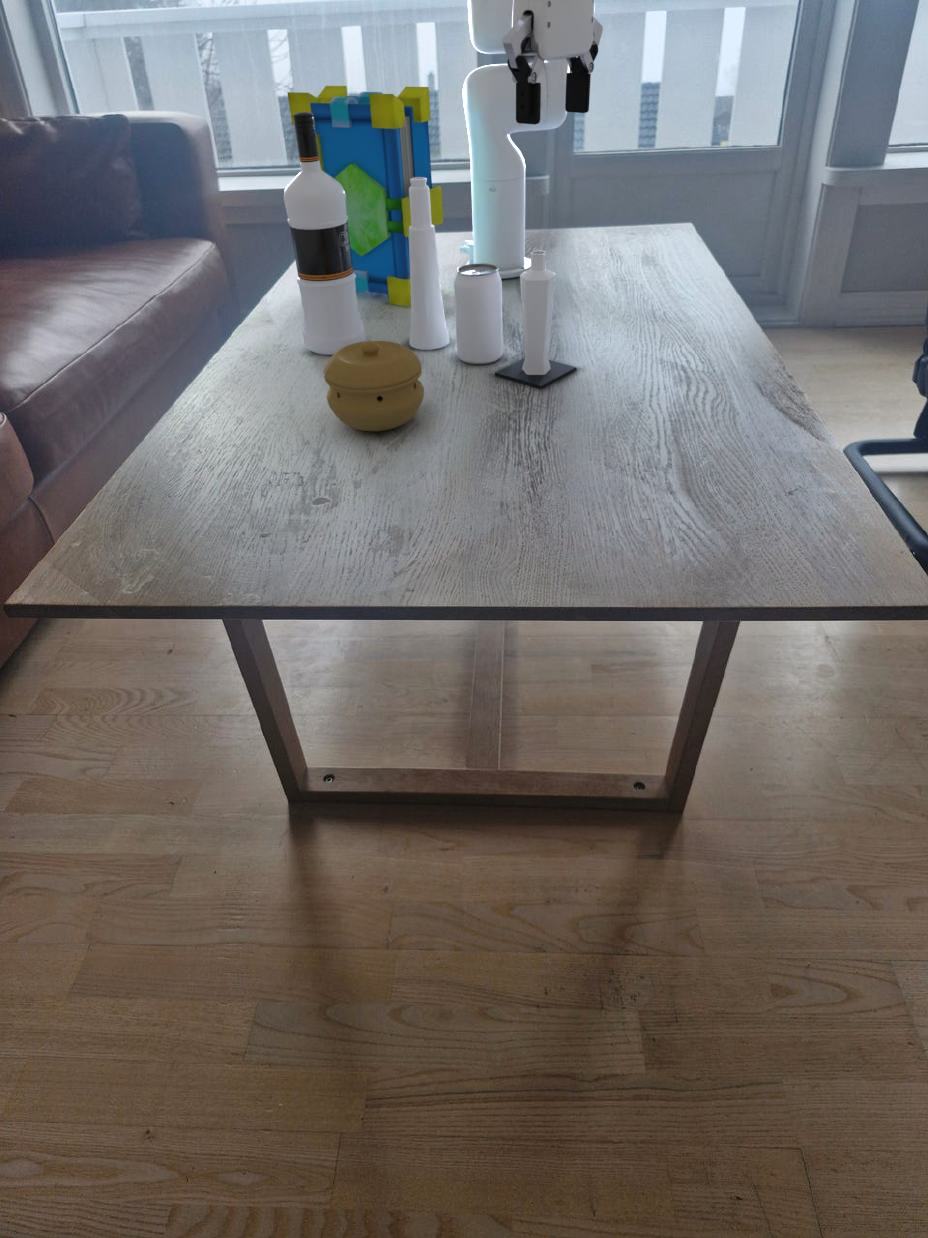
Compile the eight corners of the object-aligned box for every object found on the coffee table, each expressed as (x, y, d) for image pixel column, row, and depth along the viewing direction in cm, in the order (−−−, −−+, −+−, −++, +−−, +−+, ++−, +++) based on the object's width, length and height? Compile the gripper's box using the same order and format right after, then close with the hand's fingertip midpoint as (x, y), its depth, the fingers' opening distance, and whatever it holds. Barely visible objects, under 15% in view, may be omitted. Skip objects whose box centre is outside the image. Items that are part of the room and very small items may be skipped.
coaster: (494, 375, 108) (494, 372, 108) (530, 357, 113) (530, 354, 113) (541, 388, 104) (541, 385, 104) (576, 369, 109) (576, 367, 108)
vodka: (300, 340, 122) (260, 111, 104) (358, 331, 125) (330, 105, 106) (312, 360, 115) (272, 118, 97) (373, 350, 118) (346, 112, 99)
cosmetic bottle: (402, 348, 118) (387, 181, 104) (419, 334, 122) (407, 173, 109) (439, 351, 116) (429, 183, 102) (455, 338, 120) (448, 174, 107)
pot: (354, 399, 104) (344, 321, 98) (439, 407, 101) (434, 327, 95) (314, 437, 95) (300, 355, 89) (406, 447, 92) (398, 363, 86)
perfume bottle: (553, 363, 110) (556, 247, 100) (553, 375, 106) (556, 256, 97) (520, 363, 110) (520, 247, 101) (518, 375, 107) (519, 257, 98)
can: (508, 350, 115) (507, 263, 108) (494, 367, 111) (493, 276, 103) (466, 347, 117) (462, 261, 110) (451, 363, 112) (446, 274, 105)
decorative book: (407, 311, 132) (388, 95, 113) (301, 294, 142) (269, 93, 123) (453, 287, 141) (443, 84, 122) (351, 273, 151) (328, 83, 132)
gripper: (576, -69, 92) (570, 106, 102) (478, -68, 82) (482, 125, 93) (632, -73, 88) (619, 109, 98) (536, -73, 78) (533, 130, 89)
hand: (553, 117), depth 96 cm, fingers open, 9 cm apart
